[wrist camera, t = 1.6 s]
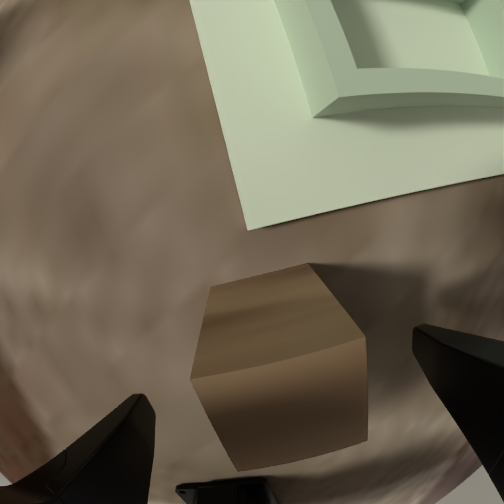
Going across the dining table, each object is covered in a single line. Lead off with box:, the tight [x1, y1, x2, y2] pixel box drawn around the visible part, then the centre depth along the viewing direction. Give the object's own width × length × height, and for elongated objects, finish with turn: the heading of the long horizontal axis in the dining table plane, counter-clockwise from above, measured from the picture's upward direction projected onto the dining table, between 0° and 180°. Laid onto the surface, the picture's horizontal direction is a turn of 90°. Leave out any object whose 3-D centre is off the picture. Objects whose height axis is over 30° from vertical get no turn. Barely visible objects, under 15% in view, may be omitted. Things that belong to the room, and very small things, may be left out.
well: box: [190, 0, 504, 230], centre depth 8 cm, size 14×18×4 cm
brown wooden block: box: [190, 263, 368, 471], centre depth 9 cm, size 4×4×6 cm
